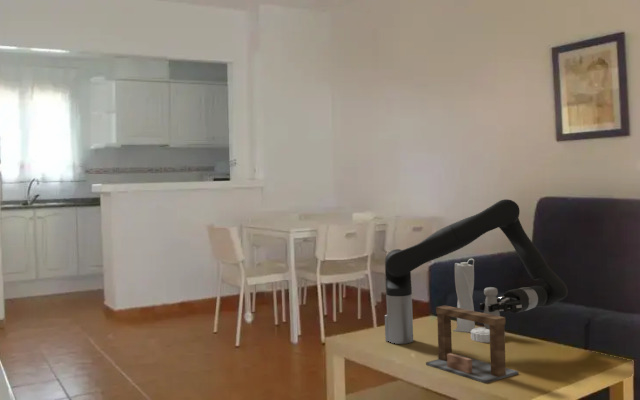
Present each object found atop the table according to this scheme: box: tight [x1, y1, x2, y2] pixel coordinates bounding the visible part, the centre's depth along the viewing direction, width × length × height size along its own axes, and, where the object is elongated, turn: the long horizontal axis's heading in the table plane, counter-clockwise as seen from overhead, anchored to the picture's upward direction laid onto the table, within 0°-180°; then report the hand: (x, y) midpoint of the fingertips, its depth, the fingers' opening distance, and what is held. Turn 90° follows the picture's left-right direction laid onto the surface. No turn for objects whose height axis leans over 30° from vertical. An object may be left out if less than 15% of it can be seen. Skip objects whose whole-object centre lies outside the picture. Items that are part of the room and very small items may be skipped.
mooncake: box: [470, 326, 490, 344], centre depth 245 cm, size 12×12×4 cm
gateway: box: [425, 304, 519, 384], centre depth 208 cm, size 25×14×18 cm, turn 34°
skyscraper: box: [452, 258, 476, 334], centre depth 258 cm, size 8×8×28 cm
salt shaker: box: [483, 286, 501, 330], centre depth 215 cm, size 6×6×13 cm
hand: (485, 307), depth 213 cm, fingers closed on salt shaker, 3 cm apart
